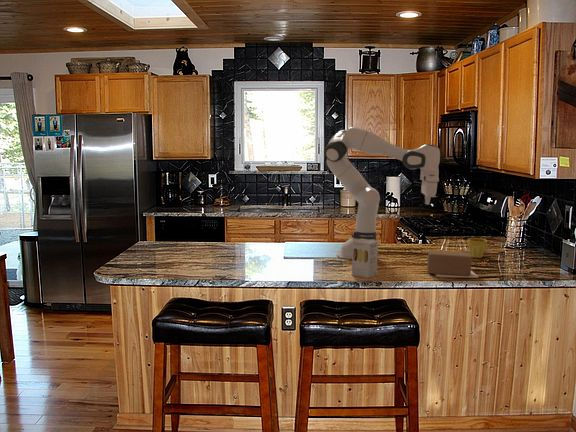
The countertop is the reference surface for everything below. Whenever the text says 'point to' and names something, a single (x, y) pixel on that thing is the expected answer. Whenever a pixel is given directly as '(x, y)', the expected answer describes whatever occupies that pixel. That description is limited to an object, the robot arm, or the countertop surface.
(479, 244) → the plant pot
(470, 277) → the mat
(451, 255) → the wooden block
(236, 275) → the countertop surface
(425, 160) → the robot arm
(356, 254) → the supplement box
